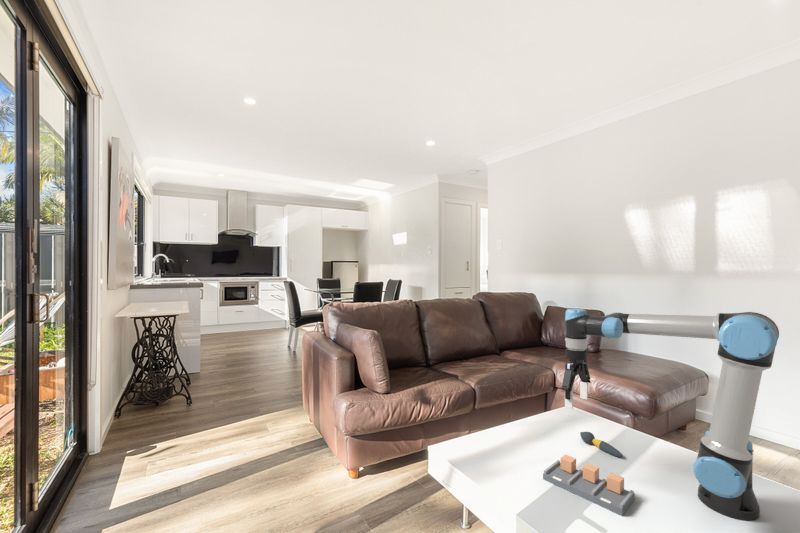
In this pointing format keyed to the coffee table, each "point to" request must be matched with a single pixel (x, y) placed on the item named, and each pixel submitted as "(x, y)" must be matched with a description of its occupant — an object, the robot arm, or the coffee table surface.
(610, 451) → the paintbrush
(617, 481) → the tab
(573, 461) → the tan cube
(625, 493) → the switch bank
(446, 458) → the coffee table surface
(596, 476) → the peach cube
